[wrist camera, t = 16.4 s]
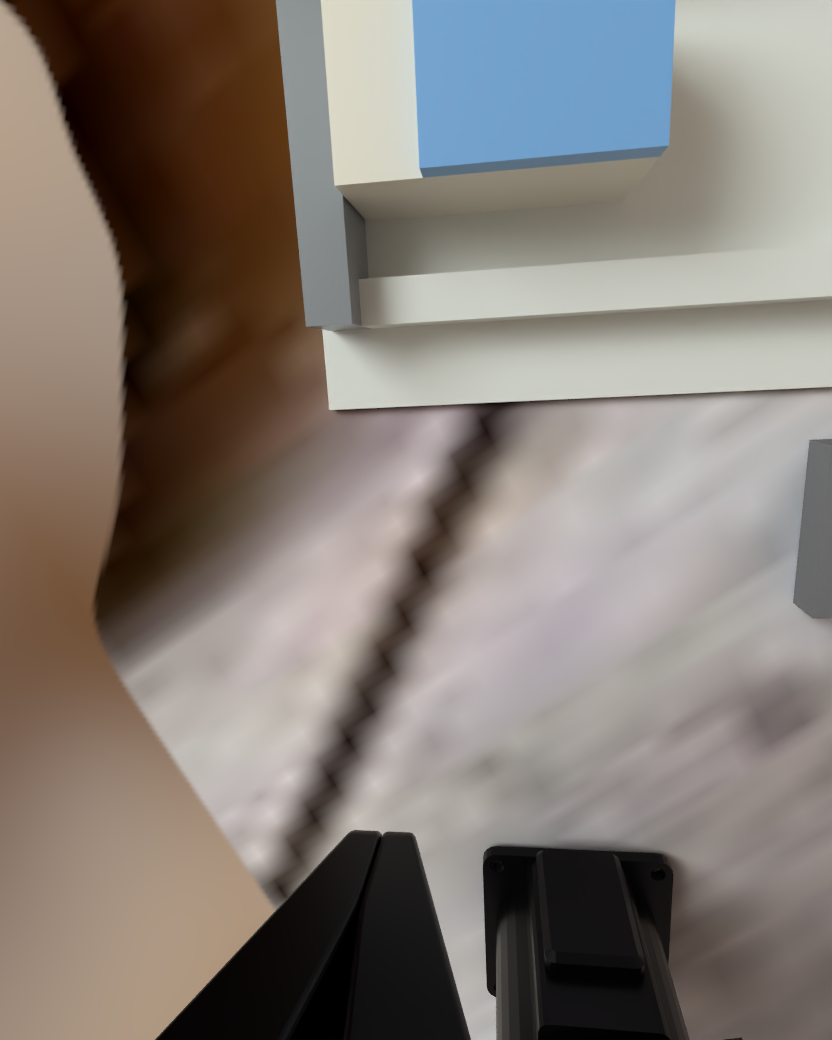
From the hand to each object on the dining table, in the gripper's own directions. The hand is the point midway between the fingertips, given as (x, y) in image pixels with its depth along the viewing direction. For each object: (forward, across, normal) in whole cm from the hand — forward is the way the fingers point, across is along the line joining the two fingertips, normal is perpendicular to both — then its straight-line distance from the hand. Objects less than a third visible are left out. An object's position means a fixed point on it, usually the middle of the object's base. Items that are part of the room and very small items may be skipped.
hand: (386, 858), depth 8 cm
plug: (+12, -2, -12) cm, 17 cm away
